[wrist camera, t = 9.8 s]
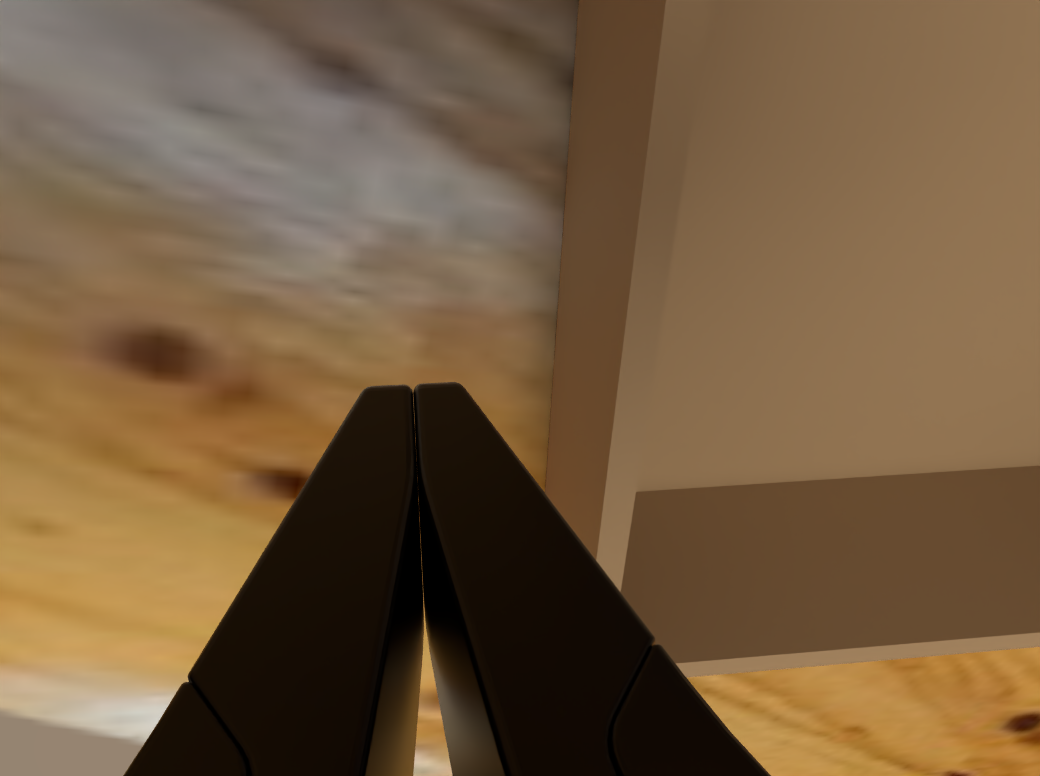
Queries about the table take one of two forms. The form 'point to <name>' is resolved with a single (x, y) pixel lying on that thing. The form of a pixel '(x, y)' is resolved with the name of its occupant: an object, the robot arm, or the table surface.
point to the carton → (805, 326)
